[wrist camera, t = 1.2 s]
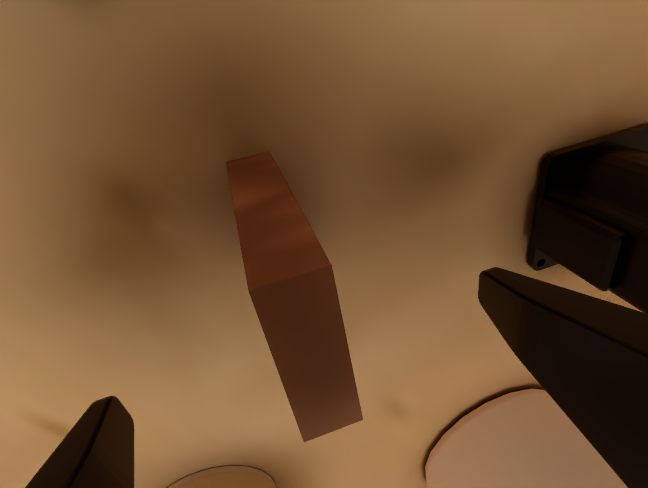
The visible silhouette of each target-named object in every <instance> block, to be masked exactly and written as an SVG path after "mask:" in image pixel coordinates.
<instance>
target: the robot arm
mask: <svg viewBox="0 0 648 488" xmlns="http://www.w3.org/2000/svg"><path fill="white" fill-rule="evenodd" d="M554 162H555V163H554ZM553 163H554V165H553ZM556 264H561V265H562V266H564V267H565V268H567V269H568V270H570V271H571V272H573V273H574V274H576V275H578V276H579V277H581V278H582V279H584V280H585V281H587V282H588V283H590V284H591V285H593V286H595V287H596V288H598V289H599V290H601V291H607V290H609V291H611V292H612V293H614V294H615V295H617V296H619V297H620V298H622V299H623V300H625V301H626V302H628V303H630V304H631V305H633V306H634V307H636V308H637V309H639V310H641V311H642V312H640V311H637V310H633V309H630V308H627V307H624V306H621V305H617V304H614V303H611V302H608V301H604V300H601V299H598V298H595V297H592V296H588V295H585V294H582V293H579V292H576V291H572V290H569V289H566V288H563V287H559V286H556V285H553V284H550V283H547V282H543V281H540V280H537V279H534V278H530V277H527V276H524V275H521V274H518V273H514V272H511V271H508V270H505V269H502V268H498V267H493V268H490V269H487V270H484V271H482V272H481V273H480V275H479V289H478V298H479V302H480V304H481V306H482V307H483V309H484V310H485V312H486V313H487V315H488V316H489V318H490V319H491V320H492V322H493V323H494V325H495V326H496V328H497V329H498V331H499V332H500V334H501V335H502V337H503V338H504V339H505V341H506V342H507V344H508V345H509V347H510V348H511V349H512V351H513V352H514V354H515V355H516V356H517V357H518V359H519V360H520V361H521V362H522V363H523V365H524V366H525V367H526V368H527V369H528V371H529V372H530V373H531V374H532V375H533V376H534V378H535V379H536V380H537V381H538V382H539V383H540V385H541V386H542V387H543V388H544V389H545V391H546V392H547V393H548V394H549V395H550V396H551V398H552V399H553V400H554V401H555V402H556V404H557V405H558V406H559V407H560V408H561V409H562V411H563V412H564V413H565V414H566V415H567V417H568V418H569V419H570V420H571V421H572V422H573V424H574V425H575V426H576V427H577V428H578V429H579V431H580V432H581V433H582V434H583V435H584V437H585V438H586V439H587V440H588V441H589V442H590V444H591V445H592V446H593V447H594V448H595V450H596V451H597V452H598V453H599V454H600V455H601V457H602V458H603V459H604V460H605V461H606V462H607V464H608V465H609V466H610V467H611V468H612V470H613V471H614V472H615V473H616V474H617V475H618V477H619V478H620V479H621V480H622V481H623V483H624V484H625V485H626V486H627V487H628V488H648V124H645V125H642V126H638V127H635V128H632V129H628V130H625V131H622V132H618V133H615V134H611V135H608V136H605V137H601V138H598V139H594V140H591V141H588V142H584V143H581V144H578V145H574V146H571V147H567V148H564V149H561V150H557V151H554V152H551V153H549V154H548V155H546V156H545V158H544V159H543V161H542V163H541V169H540V176H539V183H538V190H537V197H536V205H535V212H534V219H533V226H532V233H531V241H530V248H529V255H528V265H529V266H530V267H531V268H533V269H534V270H536V271H538V270H542V269H545V268H548V267H551V266H553V265H556ZM643 312H644V313H643ZM25 488H134V422H133V419H132V417H131V415H130V414H129V413H128V411H127V410H126V409H125V407H124V406H123V405H122V403H121V402H120V401H119V399H118V398H117V397H115V396H109V397H106V398H103V399H100V400H97V401H95V402H93V403H92V404H91V405H90V407H89V408H88V409H87V410H86V412H85V413H84V414H83V415H82V417H81V418H80V419H79V420H78V422H77V423H76V424H75V425H74V427H73V428H72V429H71V430H70V432H69V433H68V434H67V435H66V437H65V438H64V439H63V441H62V442H61V443H60V444H59V446H58V447H57V448H56V449H55V451H54V452H53V453H52V454H51V456H50V457H49V458H48V459H47V461H46V462H45V463H44V464H43V466H42V467H41V468H40V469H39V471H38V472H37V473H36V474H35V476H34V477H33V478H32V480H31V481H30V482H29V483H28V485H27V486H26V487H25Z"/></svg>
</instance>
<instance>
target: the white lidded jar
mask: <svg viewBox="0 0 648 488" xmlns="http://www.w3.org/2000/svg"><path fill="white" fill-rule="evenodd" d="M425 473H426V481H427V488H628V487H627V486H626V485H625V484H624V483H623V481H622V480H621V479H620V478H619V477H618V475H617V474H616V473H615V472H614V471H613V470H612V468H611V467H610V466H609V465H608V464H607V462H606V461H605V460H604V459H603V458H602V457H601V455H600V454H599V453H598V452H597V451H596V450H595V448H594V447H593V446H592V445H591V444H590V442H589V441H588V440H587V439H586V438H585V437H584V435H583V434H582V433H581V432H580V431H579V429H578V428H577V427H576V426H575V425H574V424H573V422H572V421H571V420H570V419H569V418H568V417H567V415H566V414H565V413H564V412H563V411H562V409H561V408H560V407H559V406H558V405H557V404H556V402H555V401H554V400H553V399H552V398H551V396H550V395H549V394H548V393H547V392H546V391H545V390H540V389H527V390H522V391H516V392H511V393H508V394H506V395H503V396H501V397H498V398H496V399H494V400H491V401H489V402H486V403H485V404H483V405H481V406H480V407H478V408H477V409H475V410H474V411H472V412H470V413H469V414H467V415H466V416H464V417H463V418H461V419H460V420H459V421H458V422H457V423H456V424H455V425H454V426H452V427H451V428H450V429H449V430H448V431H447V432H446V433H445V434H444V435H443V436H442V437H441V439H440V440H439V441H438V443H437V444H436V445H435V447H434V448H433V449H432V451H431V452H430V455H429V458H428V460H427V463H426V466H425Z"/></svg>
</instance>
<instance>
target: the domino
mask: <svg viewBox="0 0 648 488" xmlns="http://www.w3.org/2000/svg"><path fill="white" fill-rule="evenodd" d="M226 165H227V171H228V176H229V182H230V188H231V193H232V199H233V205H234V211H235V216H236V222H237V228H238V233H239V239H240V245H241V251H242V256H243V262H244V268H245V273H246V279H247V285H248V290H249V293H250V296H251V299H252V302H253V304H254V307H255V310H256V312H257V315H258V318H259V321H260V323H261V326H262V329H263V332H264V334H265V337H266V340H267V342H268V345H269V348H270V351H271V353H272V356H273V359H274V362H275V364H276V367H277V370H278V372H279V375H280V378H281V381H282V383H283V386H284V389H285V392H286V394H287V397H288V400H289V403H290V405H291V408H292V411H293V413H294V416H295V419H296V422H297V424H298V427H299V430H300V433H301V435H302V438H303V441H304V442H306V441H308V440H311V439H314V438H316V437H319V436H322V435H324V434H327V433H329V432H332V431H335V430H337V429H340V428H343V427H345V426H348V425H350V424H353V423H356V422H358V421H361V420H363V417H362V412H361V407H360V402H359V398H358V393H357V388H356V383H355V378H354V373H353V368H352V363H351V358H350V353H349V349H348V344H347V339H346V334H345V329H344V324H343V319H342V314H341V309H340V304H339V300H338V295H337V290H336V285H335V280H334V275H333V270H332V265H331V263H330V261H329V259H328V258H327V256H326V254H325V252H324V250H323V249H322V247H321V245H320V243H319V241H318V240H317V238H316V236H315V234H314V232H313V230H312V229H311V227H310V225H309V223H308V221H307V220H306V218H305V216H304V214H303V212H302V210H301V209H300V207H299V205H298V203H297V201H296V200H295V198H294V196H293V194H292V192H291V191H290V189H289V187H288V185H287V183H286V181H285V180H284V178H283V176H282V174H281V172H280V171H279V169H278V167H277V165H276V163H275V162H274V160H273V158H272V156H271V154H270V152H269V151H268V152H265V153H261V154H257V155H253V156H249V157H246V158H242V159H238V160H234V161H230V162H226Z"/></svg>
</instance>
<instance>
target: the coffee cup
mask: <svg viewBox="0 0 648 488" xmlns="http://www.w3.org/2000/svg"><path fill="white" fill-rule="evenodd" d="M168 488H276V486H275V483H274V481H273V480H272V478H271V477H270V476H269V475H268V474H266V473H265V472H263V471H261V470H259V469H255V468H252V467H246V466H223V467H215V468H211V469H207V470H203V471H200V472H197V473H194V474H191V475H189V476H187V477H185V478H183V479H180V480H179V481H177V482H175V483H174V484H172V485H170V486H169V487H168Z"/></svg>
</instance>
